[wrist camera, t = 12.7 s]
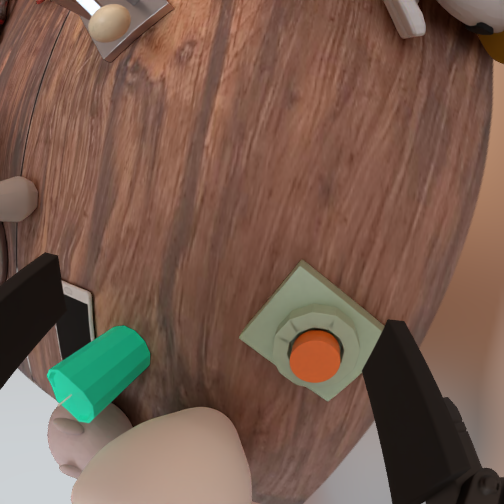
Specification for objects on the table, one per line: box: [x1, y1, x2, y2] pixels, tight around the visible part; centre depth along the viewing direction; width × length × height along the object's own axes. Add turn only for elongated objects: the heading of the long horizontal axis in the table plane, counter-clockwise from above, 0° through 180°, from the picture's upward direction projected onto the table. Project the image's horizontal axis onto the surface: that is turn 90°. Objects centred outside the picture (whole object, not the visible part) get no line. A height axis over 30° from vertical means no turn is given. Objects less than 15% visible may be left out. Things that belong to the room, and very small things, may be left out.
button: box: [289, 330, 340, 383], centre depth 20 cm, size 4×4×2 cm
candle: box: [47, 325, 150, 423], centre depth 24 cm, size 6×6×12 cm
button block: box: [239, 260, 385, 401], centre depth 23 cm, size 10×8×4 cm
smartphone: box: [55, 281, 95, 361], centre depth 32 cm, size 8×1×15 cm
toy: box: [47, 403, 133, 479], centre depth 28 cm, size 14×12×15 cm
